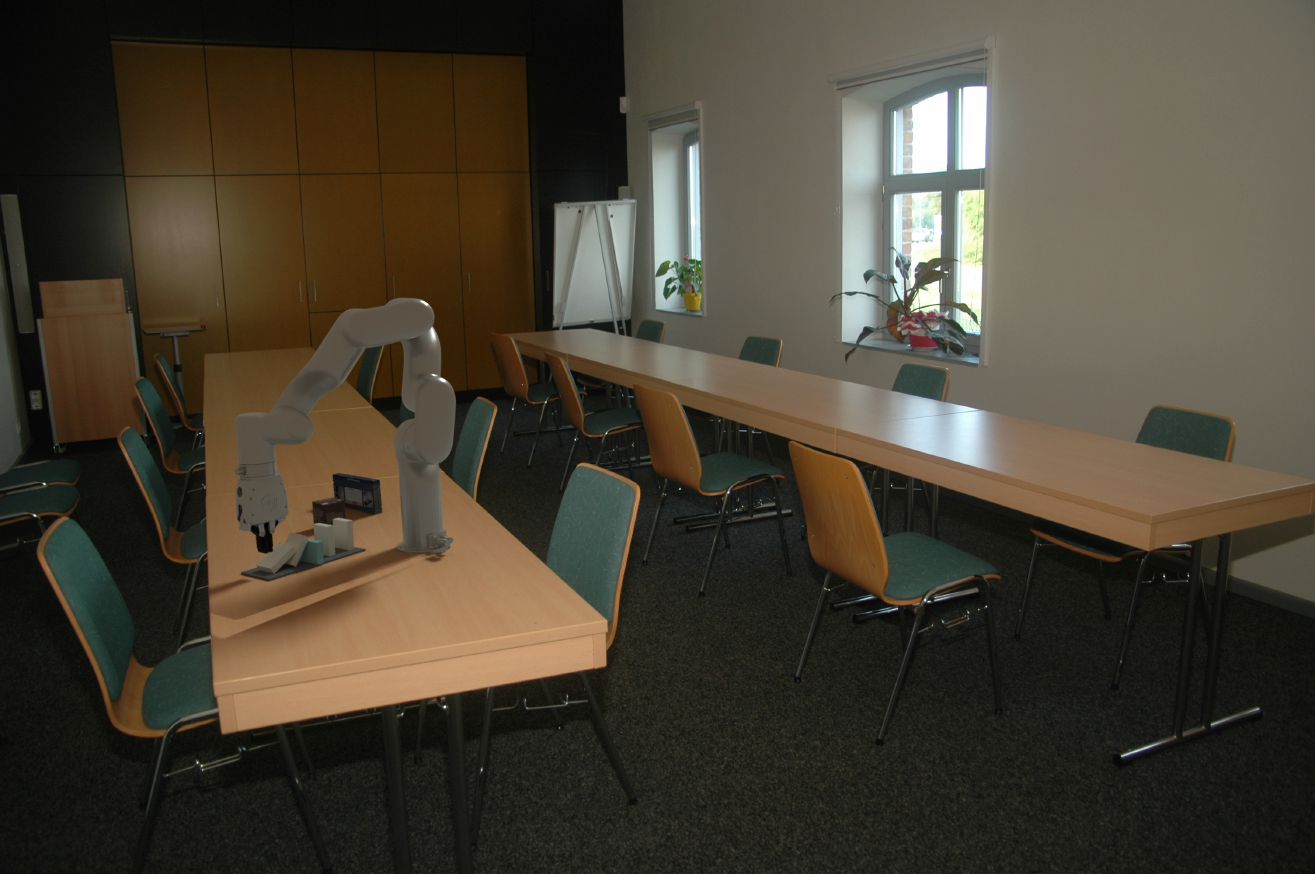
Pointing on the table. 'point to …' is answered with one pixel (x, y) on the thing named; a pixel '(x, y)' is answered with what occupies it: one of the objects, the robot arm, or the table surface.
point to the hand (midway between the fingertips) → (265, 551)
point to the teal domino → (313, 552)
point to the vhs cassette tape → (358, 492)
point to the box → (328, 510)
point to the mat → (299, 565)
